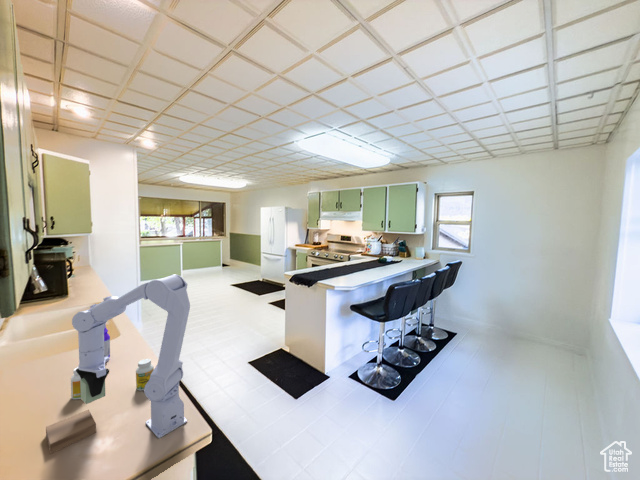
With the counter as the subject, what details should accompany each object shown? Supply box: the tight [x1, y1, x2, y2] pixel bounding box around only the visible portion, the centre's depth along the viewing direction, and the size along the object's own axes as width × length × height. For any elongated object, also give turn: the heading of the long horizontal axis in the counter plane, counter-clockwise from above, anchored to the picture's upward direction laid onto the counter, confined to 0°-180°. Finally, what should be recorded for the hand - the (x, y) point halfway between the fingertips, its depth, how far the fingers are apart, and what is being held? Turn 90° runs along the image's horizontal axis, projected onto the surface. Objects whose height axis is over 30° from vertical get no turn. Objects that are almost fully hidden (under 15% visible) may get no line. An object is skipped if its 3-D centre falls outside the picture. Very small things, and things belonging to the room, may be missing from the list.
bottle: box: [104, 324, 111, 359], centre depth 110 cm, size 7×6×17 cm
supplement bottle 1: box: [70, 366, 82, 400], centre depth 88 cm, size 5×5×10 cm
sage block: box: [80, 378, 106, 405], centre depth 77 cm, size 4×4×6 cm
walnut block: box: [45, 409, 97, 455], centre depth 72 cm, size 9×9×3 cm
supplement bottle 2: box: [135, 358, 155, 392], centre depth 93 cm, size 5×5×10 cm
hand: (93, 392), depth 77 cm, fingers closed on sage block, 4 cm apart
